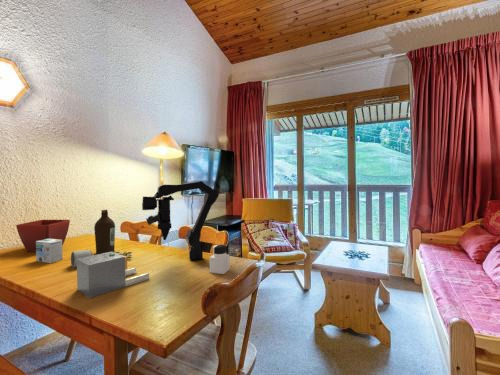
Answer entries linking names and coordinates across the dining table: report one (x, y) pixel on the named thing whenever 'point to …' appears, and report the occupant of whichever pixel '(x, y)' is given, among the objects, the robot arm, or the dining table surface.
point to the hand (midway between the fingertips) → (164, 239)
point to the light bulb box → (49, 250)
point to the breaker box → (104, 274)
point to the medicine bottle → (219, 260)
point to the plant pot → (42, 232)
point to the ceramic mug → (79, 256)
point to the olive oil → (104, 234)
